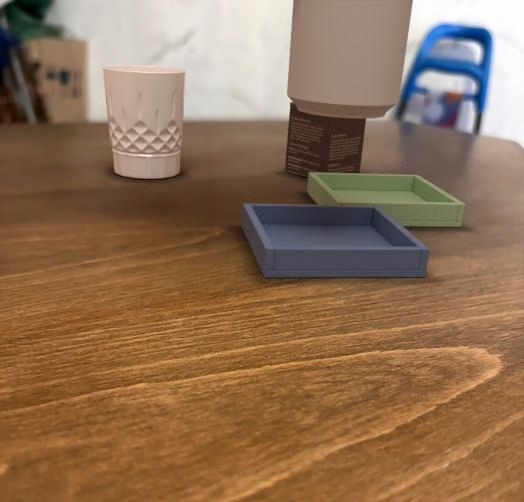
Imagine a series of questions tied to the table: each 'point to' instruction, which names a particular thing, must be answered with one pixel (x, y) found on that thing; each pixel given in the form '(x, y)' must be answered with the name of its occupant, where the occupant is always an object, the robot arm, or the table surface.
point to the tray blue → (331, 241)
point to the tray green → (389, 197)
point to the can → (347, 56)
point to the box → (323, 143)
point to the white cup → (145, 119)
